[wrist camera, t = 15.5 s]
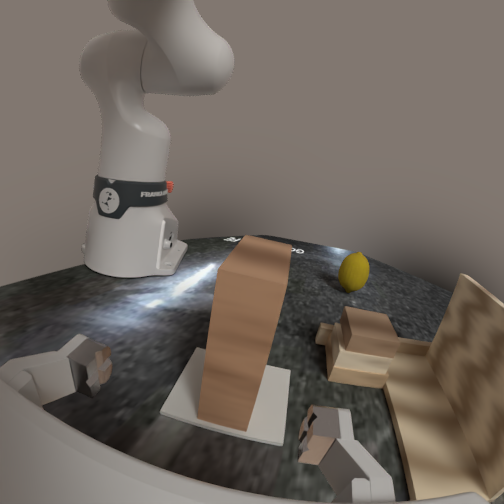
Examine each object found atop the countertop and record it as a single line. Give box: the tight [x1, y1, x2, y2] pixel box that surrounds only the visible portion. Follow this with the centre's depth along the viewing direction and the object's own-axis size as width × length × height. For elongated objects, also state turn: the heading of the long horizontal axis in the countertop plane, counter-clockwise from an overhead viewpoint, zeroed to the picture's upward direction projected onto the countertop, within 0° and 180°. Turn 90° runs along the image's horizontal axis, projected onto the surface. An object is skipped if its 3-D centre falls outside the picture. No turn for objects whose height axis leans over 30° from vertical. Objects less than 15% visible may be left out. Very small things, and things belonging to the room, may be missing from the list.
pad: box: [160, 347, 290, 446], centre depth 25 cm, size 10×10×1 cm
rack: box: [315, 274, 504, 503], centre depth 23 cm, size 25×17×13 cm
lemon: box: [338, 252, 369, 293], centre depth 53 cm, size 6×6×8 cm
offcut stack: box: [325, 306, 400, 389], centre depth 31 cm, size 7×6×6 cm
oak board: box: [197, 235, 292, 432], centre depth 23 cm, size 9×4×13 cm, turn 171°
